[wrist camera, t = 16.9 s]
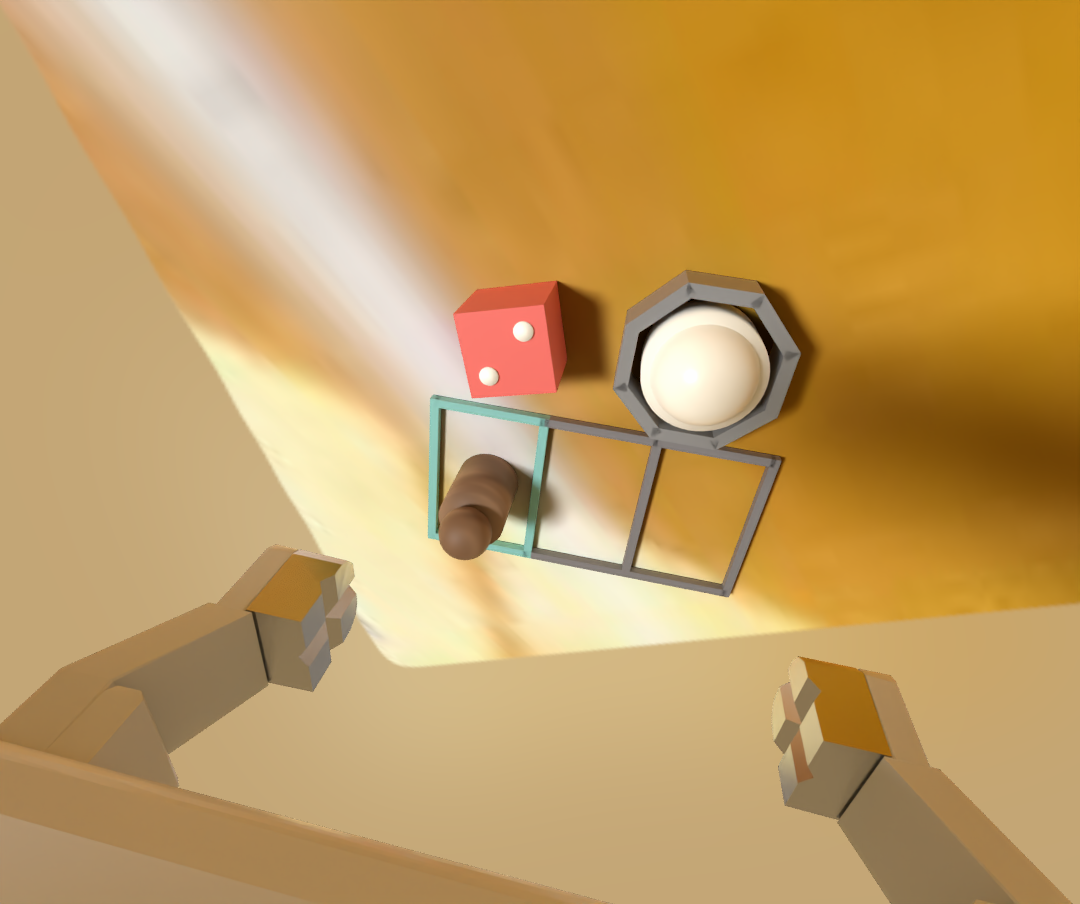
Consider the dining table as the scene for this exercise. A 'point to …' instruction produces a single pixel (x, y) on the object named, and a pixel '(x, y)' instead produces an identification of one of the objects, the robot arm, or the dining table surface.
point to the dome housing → (715, 291)
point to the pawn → (476, 506)
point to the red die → (512, 340)
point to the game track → (641, 438)
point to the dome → (704, 366)
